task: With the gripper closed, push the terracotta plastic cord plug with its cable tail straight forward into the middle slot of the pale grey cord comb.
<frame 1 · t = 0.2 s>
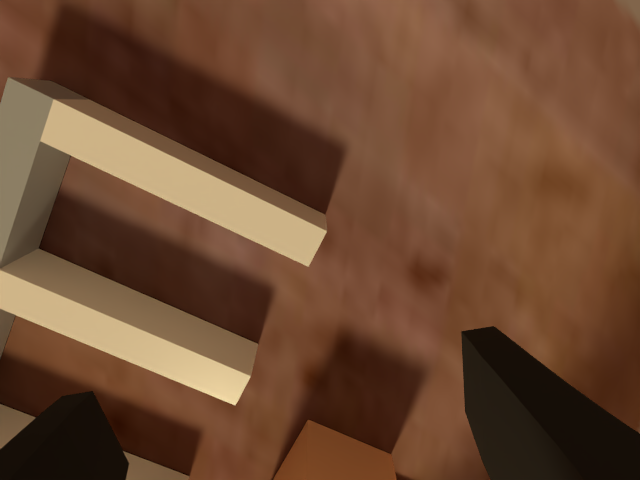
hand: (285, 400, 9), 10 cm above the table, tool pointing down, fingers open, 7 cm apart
cord plug: (329, 470, 22), on the table
cord comb: (98, 378, 21), on the table
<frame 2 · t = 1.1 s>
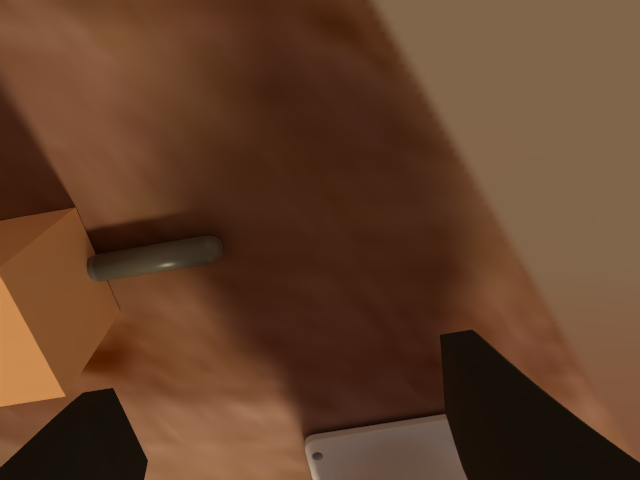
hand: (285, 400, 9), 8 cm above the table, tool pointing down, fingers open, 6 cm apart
cord plug: (40, 272, 17), on the table
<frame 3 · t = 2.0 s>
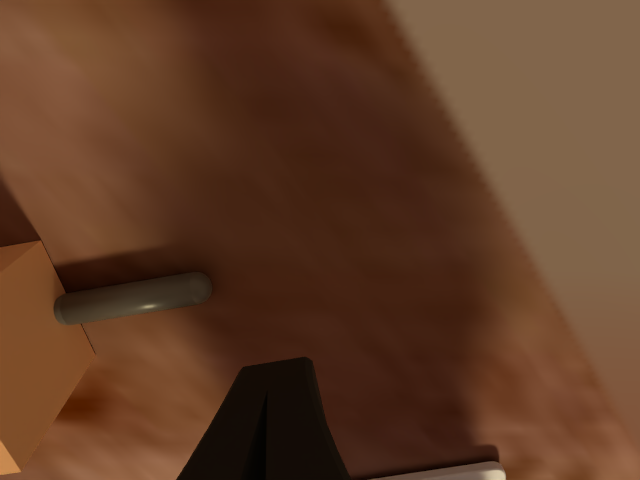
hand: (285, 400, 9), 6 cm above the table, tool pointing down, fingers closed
cord plug: (2, 312, 15), on the table
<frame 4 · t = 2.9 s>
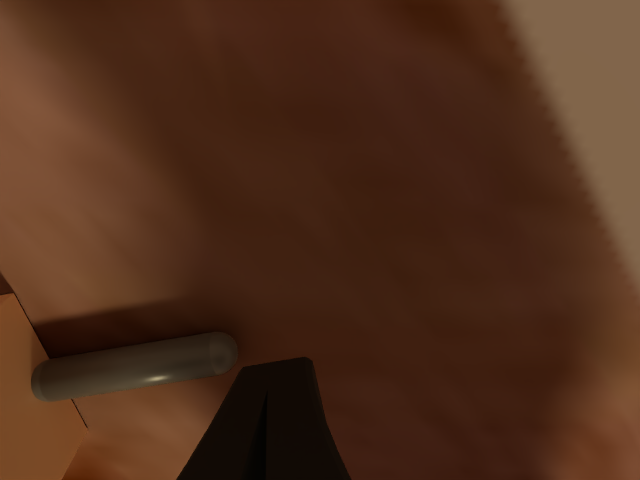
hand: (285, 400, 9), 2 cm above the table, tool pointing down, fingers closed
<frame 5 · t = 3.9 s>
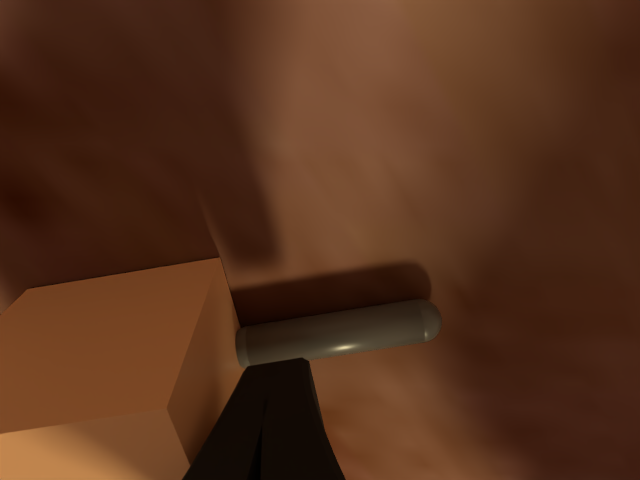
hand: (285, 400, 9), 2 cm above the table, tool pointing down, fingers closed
cord plug: (153, 349, 11), on the table, touching gripper
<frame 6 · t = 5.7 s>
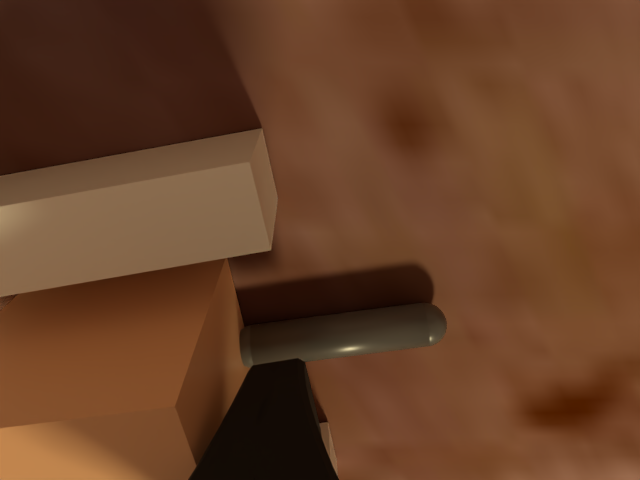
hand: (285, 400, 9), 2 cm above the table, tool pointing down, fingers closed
cord plug: (156, 346, 11), on the table, touching gripper
cord comb: (78, 361, 11), on the table
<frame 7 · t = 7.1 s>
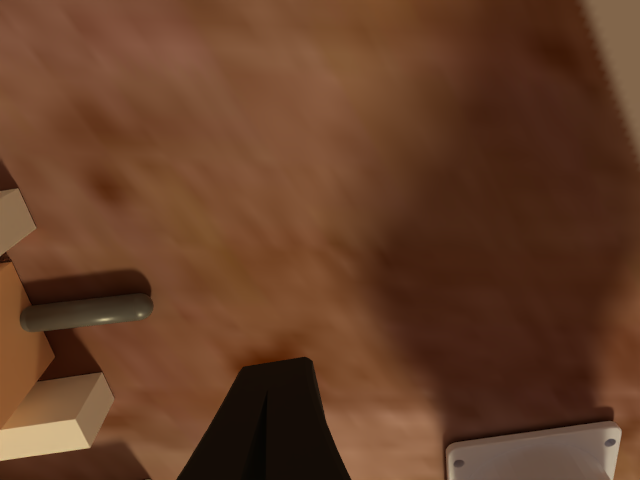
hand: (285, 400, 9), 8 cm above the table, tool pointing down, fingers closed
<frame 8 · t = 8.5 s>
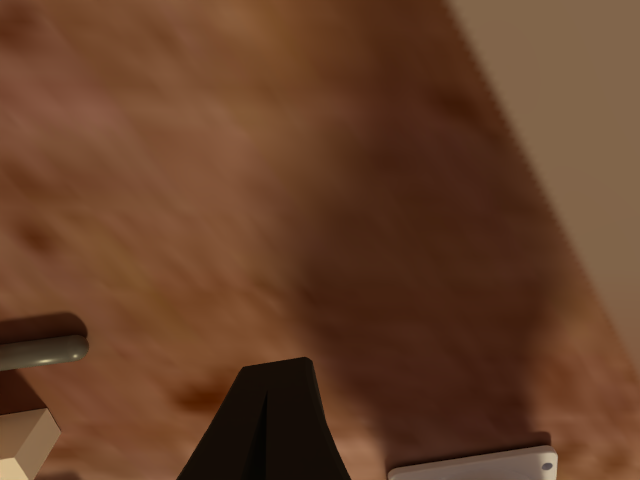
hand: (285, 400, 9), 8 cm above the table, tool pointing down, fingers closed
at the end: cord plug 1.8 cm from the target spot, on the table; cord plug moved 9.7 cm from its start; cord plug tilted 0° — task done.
